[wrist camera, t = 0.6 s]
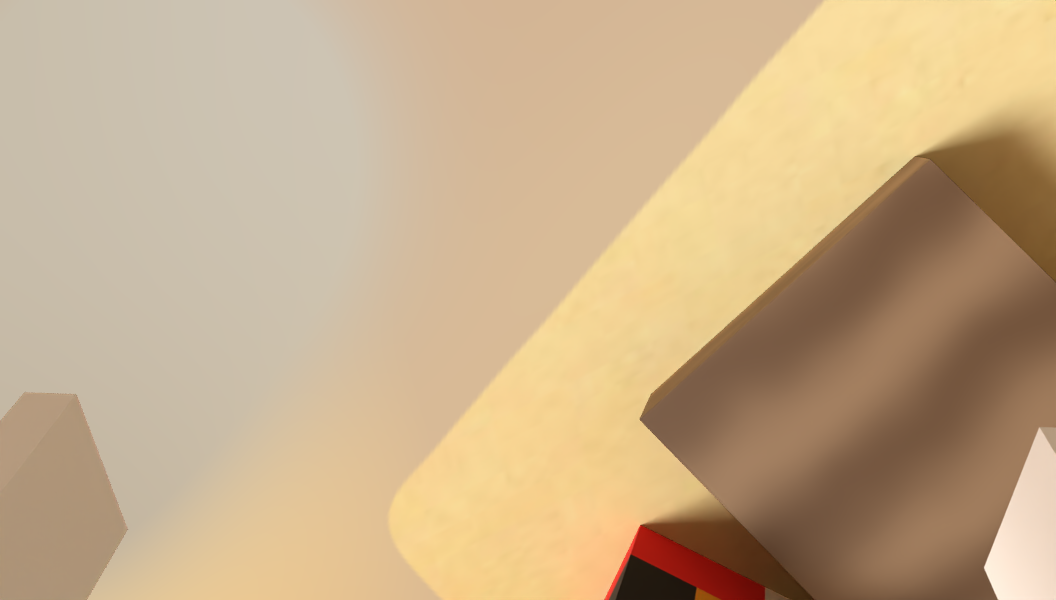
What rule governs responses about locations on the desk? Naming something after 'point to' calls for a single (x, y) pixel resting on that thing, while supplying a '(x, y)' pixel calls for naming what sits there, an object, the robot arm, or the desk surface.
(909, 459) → the walnut plinth
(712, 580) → the puzzle toy
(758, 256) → the desk surface
